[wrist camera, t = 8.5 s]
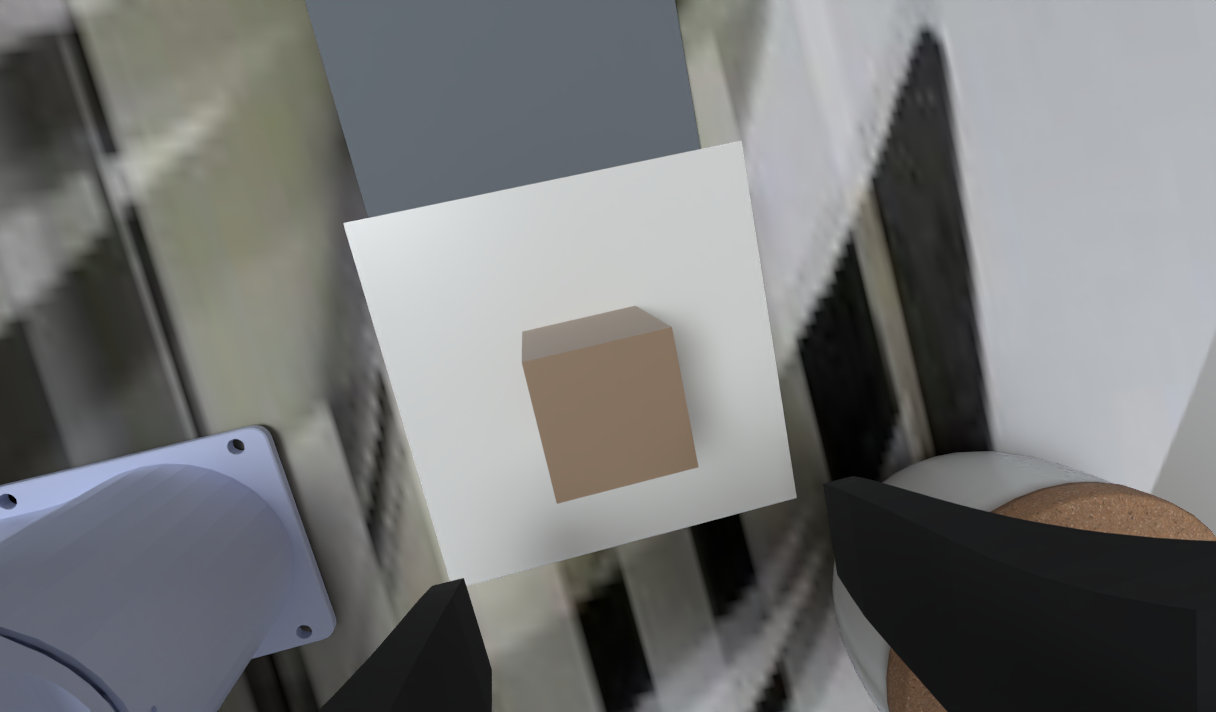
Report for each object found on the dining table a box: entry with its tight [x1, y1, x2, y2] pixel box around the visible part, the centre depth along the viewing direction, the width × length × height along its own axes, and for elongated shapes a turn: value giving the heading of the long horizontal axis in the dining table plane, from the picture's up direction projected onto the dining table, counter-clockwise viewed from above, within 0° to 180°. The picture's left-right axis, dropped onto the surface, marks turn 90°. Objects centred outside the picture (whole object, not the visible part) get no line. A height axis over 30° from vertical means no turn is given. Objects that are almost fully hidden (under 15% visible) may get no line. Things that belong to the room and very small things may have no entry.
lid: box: [343, 141, 797, 586], centre depth 14 cm, size 10×10×5 cm
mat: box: [305, 0, 700, 218], centre depth 19 cm, size 11×11×1 cm
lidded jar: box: [832, 451, 1216, 712], centre depth 20 cm, size 11×11×9 cm
